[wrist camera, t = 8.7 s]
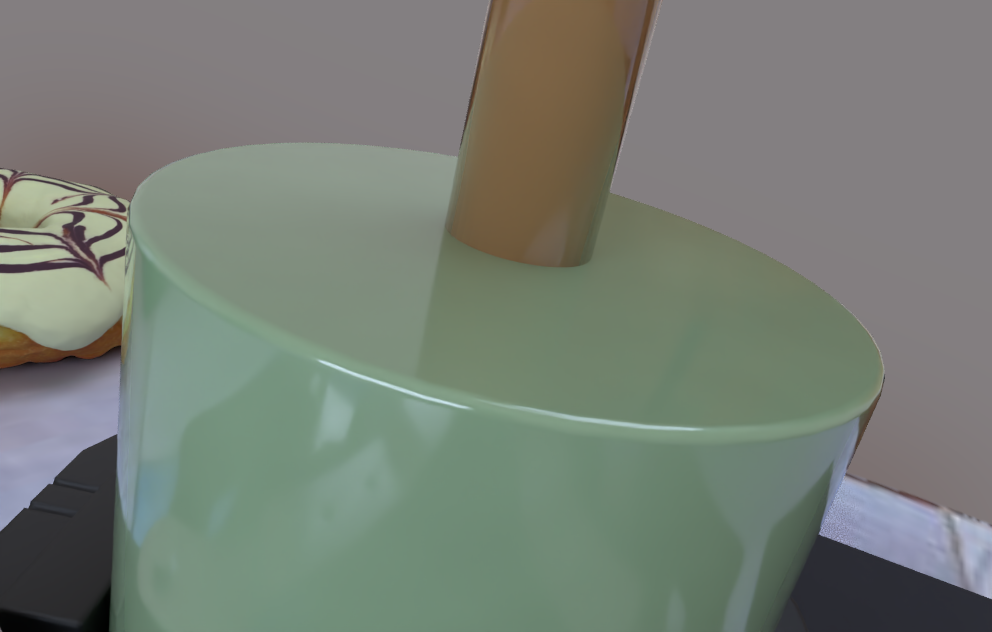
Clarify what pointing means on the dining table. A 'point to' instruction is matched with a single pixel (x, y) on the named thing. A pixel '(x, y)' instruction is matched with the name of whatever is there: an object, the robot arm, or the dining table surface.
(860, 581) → the mat
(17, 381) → the dining table surface
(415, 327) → the spatula crock
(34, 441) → the dining table surface
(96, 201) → the decorated donut
